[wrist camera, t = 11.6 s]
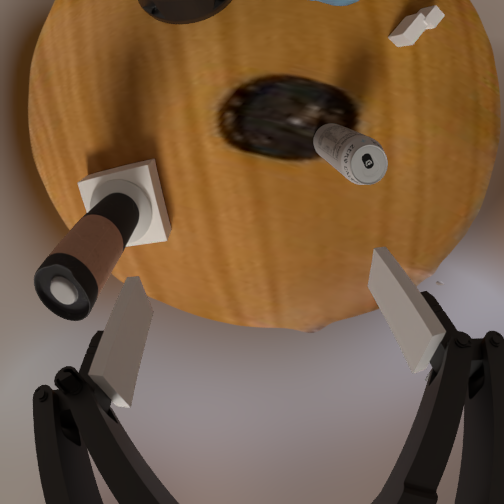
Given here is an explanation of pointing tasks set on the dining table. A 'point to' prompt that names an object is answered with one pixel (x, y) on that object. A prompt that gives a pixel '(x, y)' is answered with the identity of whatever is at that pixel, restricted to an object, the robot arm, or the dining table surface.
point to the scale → (139, 189)
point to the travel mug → (86, 257)
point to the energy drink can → (351, 153)
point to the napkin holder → (415, 26)
